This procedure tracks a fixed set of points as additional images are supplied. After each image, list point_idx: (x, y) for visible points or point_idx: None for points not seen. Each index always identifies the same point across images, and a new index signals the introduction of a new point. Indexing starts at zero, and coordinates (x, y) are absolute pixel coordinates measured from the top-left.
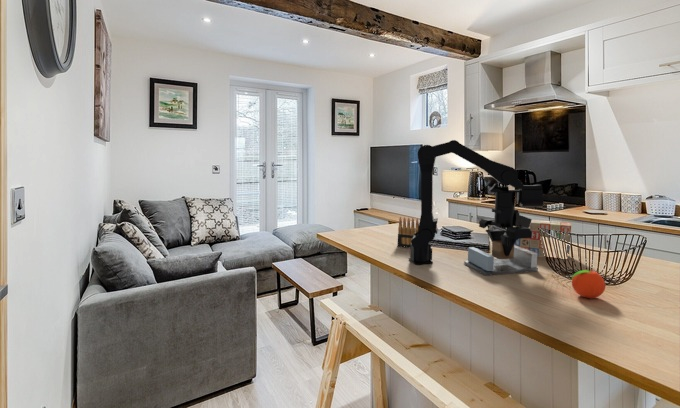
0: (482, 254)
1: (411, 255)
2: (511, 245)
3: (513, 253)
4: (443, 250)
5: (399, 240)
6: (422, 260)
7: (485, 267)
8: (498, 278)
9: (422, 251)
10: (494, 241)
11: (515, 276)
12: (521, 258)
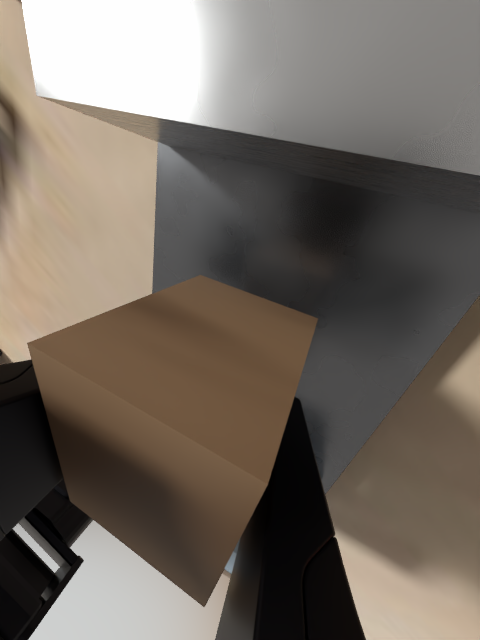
0: (230, 569)
1: None
2: (323, 583)
3: (308, 347)
4: (6, 309)
5: None
6: None
7: None
8: (383, 502)
9: (88, 524)
10: (90, 512)
11: (445, 430)
12: (338, 175)
